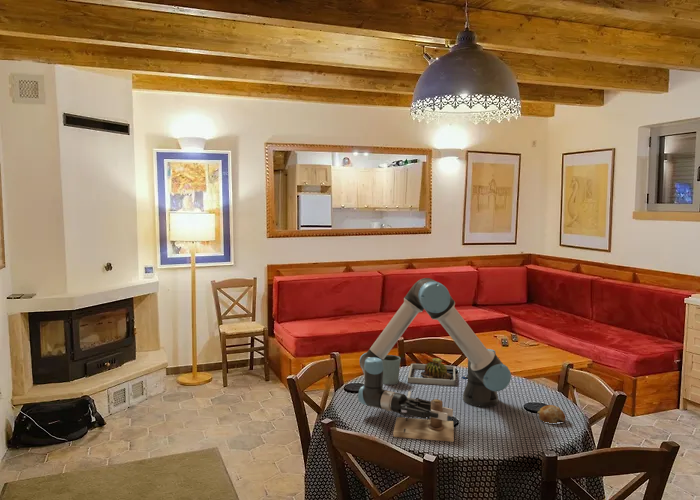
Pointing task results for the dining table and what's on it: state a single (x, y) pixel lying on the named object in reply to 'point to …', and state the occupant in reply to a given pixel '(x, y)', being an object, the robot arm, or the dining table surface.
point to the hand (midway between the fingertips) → (449, 414)
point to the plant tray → (429, 380)
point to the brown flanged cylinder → (435, 423)
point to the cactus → (436, 370)
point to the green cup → (391, 369)
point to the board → (422, 429)
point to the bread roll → (551, 414)
